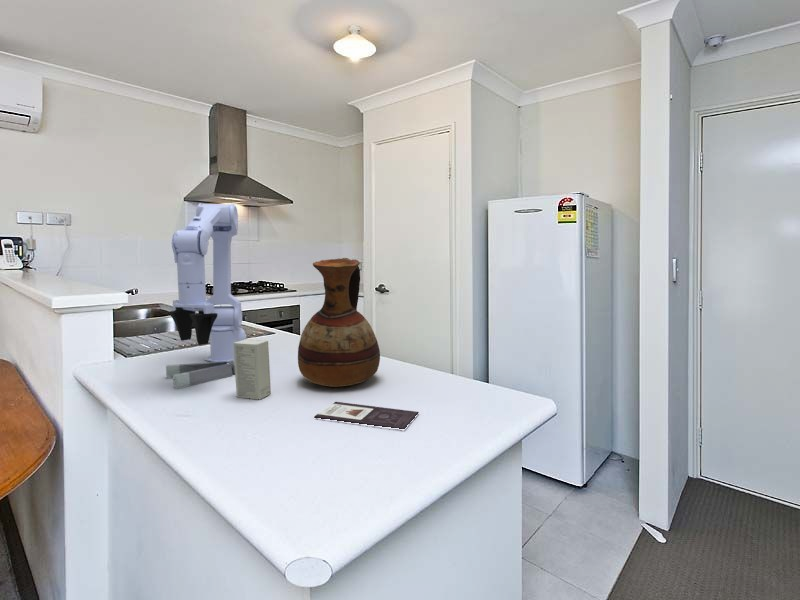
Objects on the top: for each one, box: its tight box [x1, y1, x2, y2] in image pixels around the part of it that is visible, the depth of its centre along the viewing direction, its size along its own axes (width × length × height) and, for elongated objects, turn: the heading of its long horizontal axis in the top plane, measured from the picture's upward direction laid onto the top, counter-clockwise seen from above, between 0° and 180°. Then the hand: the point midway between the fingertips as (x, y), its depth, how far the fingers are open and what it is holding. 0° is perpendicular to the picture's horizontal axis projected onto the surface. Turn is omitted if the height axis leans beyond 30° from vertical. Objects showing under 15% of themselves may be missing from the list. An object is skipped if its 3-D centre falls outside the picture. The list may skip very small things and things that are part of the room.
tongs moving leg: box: [172, 362, 233, 390], centre depth 112 cm, size 14×2×3 cm, turn 142°
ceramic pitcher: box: [297, 257, 381, 388], centre depth 112 cm, size 20×20×30 cm
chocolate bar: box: [313, 401, 420, 429], centre depth 90 cm, size 9×1×18 cm
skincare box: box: [233, 338, 272, 400], centre depth 101 cm, size 6×4×12 cm
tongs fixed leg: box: [165, 360, 235, 379], centre depth 117 cm, size 18×3×3 cm, turn 110°
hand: (194, 341), depth 108 cm, fingers open, 7 cm apart
